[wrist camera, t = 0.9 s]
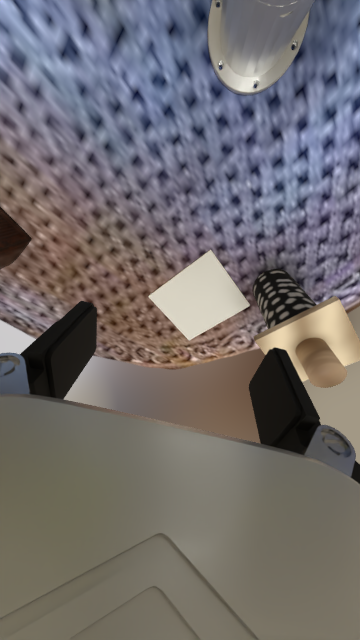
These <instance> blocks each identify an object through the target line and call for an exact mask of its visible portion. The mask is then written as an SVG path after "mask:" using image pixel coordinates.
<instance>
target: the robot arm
mask: <svg viewBox="0 0 360 640" xmlns="http://www.w3.org/2000/svg"><path fill="white" fill-rule="evenodd" d="M314 1H315V0H212V3H211V8H210V13H209V21H208V47H209V55H210V59H211V63H212V66H213V69H214V71H215V73H216V75H217V77H218V78H219V80H220V81H221V82H222V84H223V85H224V86H225V87H226V88H228V89H229V90H230V91H232V92H234V93H236V94H240V95H254V94H257V93H260V92H262V91H264V90H266V89H268V88H270V87H271V86H272V85H273V84H274V83H276V82H277V81H278V80H279V79H280V78H281V76H282V75H283V74H284V73H285V72H286V70H287V69H288V67H289V66H290V65H291V63H292V61H293V60H294V58H295V56H296V54H297V53H298V51H299V48H300V46H301V43H302V41H303V39H304V35H305V32H306V28H307V25H308V19H309V13H310V8H311V6H312V5H313V3H314ZM217 4H219V5H220V7H219V8H217V7H216V5H217ZM292 46H293V47H294V50H292V49H291V47H292ZM220 66H222V70H219V67H220ZM255 84H256V86H257V87H256V88H254V87H253V85H255ZM96 333H97V308H96V307H94V305H93V304H92V303H88V302H84V301H80V302H79V303H78V304H77V305H76V306H75V307H74V308H73V309H71V310H70V311H69V312H68V313H67V314H66V315H65V316H64V317H63V318H62V319H60V320H59V321H58V322H56V323H54V324H53V325H52V326H51V327H50V328H49V329H48V330H46V331H45V332H44V333H43V334H42V335H41V336H40V337H39V338H38V339H36V340H35V341H34V342H33V343H32V344H31V345H30V346H29V347H28V348H27V349H25V350H24V351H23V352H22V353H21V354H20V355H19V354H16V353H1V354H0V640H360V464H358V463H357V462H356V461H355V458H356V453H355V450H354V448H353V446H352V444H351V443H350V441H349V440H348V439H347V438H346V437H345V436H344V435H343V434H342V433H341V432H339V431H338V430H336V429H335V428H333V427H330V426H328V425H321V424H320V422H319V419H320V417H319V415H318V413H317V411H316V409H315V408H314V406H313V403H312V401H311V399H310V397H309V395H308V393H307V391H306V389H305V387H304V385H303V383H302V381H301V379H300V377H299V375H298V373H297V371H296V369H295V367H294V365H293V363H292V361H291V359H290V357H289V355H288V353H287V351H286V350H284V349H280V348H276V347H275V348H273V349H270V350H269V351H268V352H267V354H266V356H265V358H264V359H263V361H262V363H261V364H260V366H259V368H258V369H257V371H256V373H255V375H254V377H253V378H252V380H251V381H250V384H249V391H250V396H251V400H252V405H253V410H254V414H255V419H256V424H257V428H258V433H259V438H260V442H261V444H259V443H256V442H251V441H247V440H242V439H238V438H234V437H230V436H225V435H221V434H217V433H213V432H208V431H204V430H199V429H195V428H191V427H186V426H182V425H177V424H173V423H169V422H164V421H160V420H155V419H150V418H146V417H142V416H137V415H133V414H128V413H124V412H119V411H115V410H110V409H106V408H101V407H97V406H92V405H87V404H83V403H78V402H73V401H68V400H63V399H64V397H65V396H66V394H67V392H68V391H69V390H70V388H71V387H72V385H73V384H74V382H75V381H76V379H77V378H78V376H79V375H80V373H81V372H82V370H83V369H84V367H85V366H86V364H87V363H88V361H89V360H90V358H91V357H92V356H93V354H94V352H95V350H96Z"/></svg>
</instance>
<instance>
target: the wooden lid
mask: <svg viewBox="0 0 360 640" xmlns="http://www.w3.org/2000/svg"><path fill="white" fill-rule="evenodd" d="M254 340H255V342H256V343H257V344H258V346H259V347H260V348H261V350H262V351H263V352H264V353H265V355H266V354H267V352H268V351H269V350H270V349H273V348H275V347H276V348H280V349H284V350H286V351H287V353H288V355H289V357H290V359H291V361H292V363H293V365H294V367H295V369H296V371H297V373H298V375H299V377H300V379H301V381H302V382H303V381H306V380H308V379H309V380H310V382H311V383H312V384H313V385H314V386H317V387H321V388H322V387H323V388H327V387H333V386H336V385H338V384H340V383H341V382H342V381H343V380H344V379H345V378H346V376H347V370H346V369H345V367H344V366H346V365H349V364H352V363H354V362H357V361H360V340H359V338H358V336H357V334H356V332H355V330H354V328H353V326H352V324H351V322H350V320H349V318H348V316H347V314H346V312H345V310H344V308H343V306H342V304H341V302H340V300H339V299H338V298H337V297H336V296H334V297H332V298H330V299H328V300H326V301H324V302H322V303H320V304H318V305H316V306H314V307H312V308H310V309H308V310H306V311H304V312H302V313H300V314H298V315H296V316H294V317H292V318H290V319H288V320H286V321H284V322H282V323H280V324H278V325H276V326H274V327H272V328H270V329H268V330H266V331H264V332H262V333H260V334H258V335H256V336H254Z"/></svg>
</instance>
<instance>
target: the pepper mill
mask: <svg viewBox="0 0 360 640" xmlns="http://www.w3.org/2000/svg"><path fill="white" fill-rule="evenodd" d="M30 241H31V238H30V237H29V236H28V234H27V233H26V232H25V231H24V230H23V229H22V228H21V227H20V226H19V225H18V224H17V223H16V222H15V221H14V220H13V219H12V218H11V217H10V216H9V215H8V214H7V213H6V212H5V211H4V210H3V209H2V208H1V207H0V269H2V268H4V267H5V266H8V265H10V264H11V263H13V262H14V261H15V260H16V259H17V258H18V256H19V255H20V254H21V253H22V252H23V250H24V249H25V248H26V246H27V245H28V244H29V242H30Z"/></svg>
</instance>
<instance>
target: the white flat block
mask: <svg viewBox="0 0 360 640" xmlns="http://www.w3.org/2000/svg"><path fill="white" fill-rule="evenodd" d="M148 297H149V298H150V299H151V300H152V301H153V302H154V303H155V304H156V305H157V306H158V308H159V309H160V310H161V311H162V312H163V313H164V314H165V315H166V316H167V317H168V318H169V319H170V320H171V322H172V323H173V324H174V325H175V326H176V327H177V328H178V329H179V330H180V331H181V332H182V333H183V334H184V335H185V337H186V338H187V339H188V340H191V339H192V338H194V337H196V336H198V335H199V334H201V333H203V332H205V331H206V330H208V329H210V328H212V327H213V326H215V325H217V324H219V323H221V322H222V321H224V320H226V319H228V318H229V317H231V316H233V315H235V314H236V313H238V312H240V311H242V310H243V309H245V308H247V307H249V306H250V304H249V303H248V301H247V300H246V298H245V297H244V296H243V294H242V293H241V291H240V290H239V288H238V287H237V286H236V284H235V283H234V281H233V280H232V279H231V277H230V276H229V274H228V273H227V272H226V270H225V269H224V267H223V266H222V265H221V263H220V262H219V260H218V259H217V257H216V256H215V255H214V253H213V252H212V250H211V249H210V250H209V251H208V252H206V253H205V254H204V255H202V256H201V257H200V258H198V259H197V260H196V261H194V262H193V263H192V264H190V265H189V266H188V267H186V268H185V269H184V270H182V271H181V272H180V273H178V274H177V275H176V276H174V277H173V278H172V279H170V280H169V281H168V282H166V283H165V284H164V285H162V286H161V287H160V288H158V289H157V290H156V291H154V292H153V293H152V294H150V295H149V296H148Z"/></svg>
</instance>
